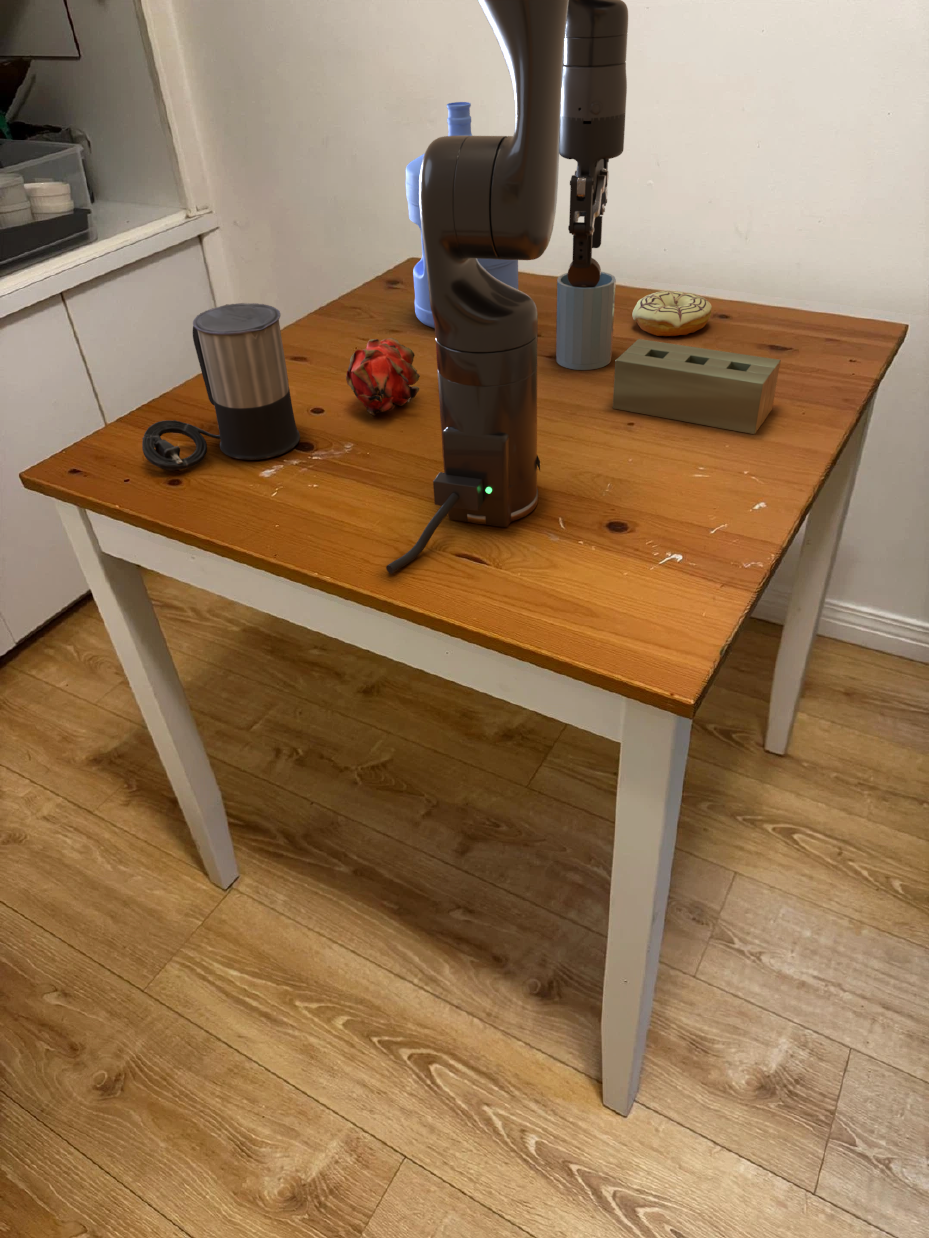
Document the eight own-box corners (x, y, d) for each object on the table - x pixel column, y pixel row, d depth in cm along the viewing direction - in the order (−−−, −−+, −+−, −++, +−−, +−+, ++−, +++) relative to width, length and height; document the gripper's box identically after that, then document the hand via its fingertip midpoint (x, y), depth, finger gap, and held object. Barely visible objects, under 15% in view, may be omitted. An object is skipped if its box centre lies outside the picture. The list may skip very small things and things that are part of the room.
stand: (754, 434, 102) (763, 383, 98) (612, 408, 109) (615, 360, 105) (772, 409, 107) (780, 359, 103) (635, 385, 114) (638, 338, 110)
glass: (604, 372, 118) (608, 290, 112) (549, 367, 120) (550, 286, 114) (616, 352, 123) (621, 272, 117) (563, 347, 125) (565, 269, 119)
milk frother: (317, 435, 107) (298, 308, 98) (225, 495, 96) (193, 359, 87) (226, 413, 113) (200, 292, 104) (130, 467, 102) (92, 338, 93)
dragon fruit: (398, 394, 119) (389, 448, 111) (340, 361, 116) (326, 414, 108) (432, 345, 114) (425, 398, 105) (373, 309, 111) (361, 360, 102)
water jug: (538, 306, 139) (539, 97, 122) (484, 340, 129) (478, 116, 112) (452, 293, 146) (441, 93, 129) (395, 324, 136) (375, 111, 119)
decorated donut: (618, 330, 130) (620, 303, 127) (658, 308, 136) (660, 282, 134) (683, 344, 124) (686, 317, 122) (721, 321, 130) (725, 294, 128)
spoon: (599, 351, 121) (601, 255, 111) (598, 357, 120) (600, 261, 110) (569, 350, 122) (568, 255, 112) (568, 356, 121) (567, 261, 111)
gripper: (569, 100, 110) (566, 241, 120) (548, 120, 99) (546, 273, 109) (632, 99, 108) (624, 242, 118) (617, 120, 98) (609, 275, 107)
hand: (587, 257), depth 114 cm, fingers open, 8 cm apart
